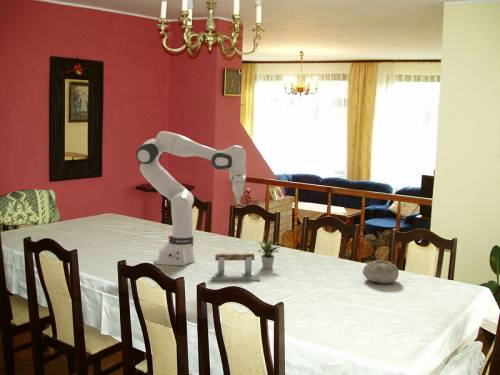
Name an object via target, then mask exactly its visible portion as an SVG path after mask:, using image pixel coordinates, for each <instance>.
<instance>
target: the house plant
mask: <svg viewBox="0 0 500 375" xmlns="http://www.w3.org/2000/svg"><path fill="white" fill-rule="evenodd" d="M274 240H275V239H274V238H272V239H271V240H270V241H269V237H267V242H266V241H265V240H260V241H258V242H257V243H258V244H260V245H261V246H260V249H261V250H260V249H258V250H257V252H261V253H263V254H261V263H262V268H263V269H267V270H268V269H272V268H273V265H274V262H275V255H274V253H278V254H279V250H278V249H279V248H280V249H282V247H280V246H276V245H278V244H277V243H279V241H278V242H277V241H276V243H275V242H274ZM262 242H264V244H263V243H262ZM273 242H274V244H273Z"/></svg>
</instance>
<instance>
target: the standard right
mask: <svg viewBox="0 0 500 375" xmlns="http://www.w3.org/2000/svg"><path fill="white" fill-rule="evenodd" d="M252 263H253V260H252V257H246V260H244V270H242V276H255V275H254V272H253V270H252V267H253V264H252Z"/></svg>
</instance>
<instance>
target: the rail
mask: <svg viewBox="0 0 500 375" xmlns="http://www.w3.org/2000/svg"><path fill="white" fill-rule="evenodd" d="M214 257H215V258H214V259H215V260H214V261H217V262H218V261H219V257H225V261H245V260H246V257H252V261H255V253H254V252H236V253H235V252H233V253H232V252H231V253H230V252H228V253H227V252H224V253H220V252H217V253H216V252H215V256H214Z"/></svg>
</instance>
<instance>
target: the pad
mask: <svg viewBox="0 0 500 375" xmlns="http://www.w3.org/2000/svg"><path fill="white" fill-rule="evenodd" d="M211 281H212V283H213V282H214V283H215V282H224V283H225V282H260V281H261V278H260V275H254V276H244V275H226V276H215V275H213V276H211Z"/></svg>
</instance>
